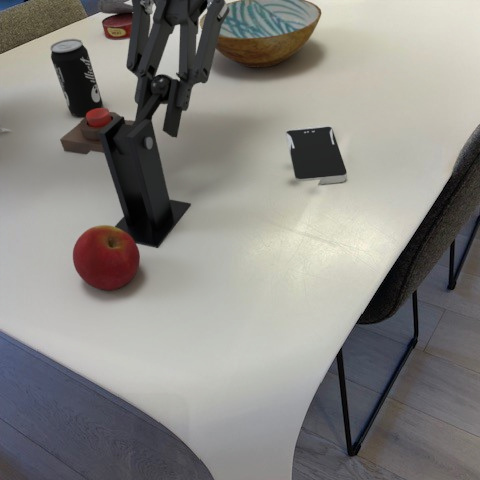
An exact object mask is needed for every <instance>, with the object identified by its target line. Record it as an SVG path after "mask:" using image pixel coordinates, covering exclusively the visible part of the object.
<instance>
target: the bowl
mask: <svg viewBox="0 0 480 480" xmlns="http://www.w3.org/2000/svg"><path fill="white" fill-rule="evenodd" d="M226 3H227V5H228V7H229V9H230V11H229V13H228V15H227V17H226V18H225V20H224V22H223V24H222V26H221V30H220V34H219V38H218V42H217V46H216V50H217V51H218V52H219V53H220V54H221V55H223V57H226V58H228V59H229V60H231V61H233V62H235V63H237V64H240V65H241V66H245V67H248V68H266V67H271V66H276V65H279V64H280V63H282V62H284V61H285V60H288V59H289V58H290V57H291V56H293V55H294V54H296V53H297V52H299V51H300V50H301V49H302V47H303V46H304V45H305V44H306V43H307V42H308V41H309V39H310V38H311V37H312V35H313V33H314V31H315V29H316V28H317V26H318V24H319V21H320V20H321V17H322V13H323V12H322V10H321V8H320V7H319V6H318V5H317V4H315V3H313V2H311V1H308V0H235V1H231V2H226ZM205 16H206V13H205V14H204V15H202V17H201V18H199V26H200V28H201V30H202V28H203V24H204V20H205Z"/></svg>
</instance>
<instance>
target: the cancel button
mask: <svg viewBox="0 0 480 480" xmlns="http://www.w3.org/2000/svg"><path fill="white" fill-rule="evenodd" d="M110 112H111V111H110V110H109V109H108V108H106V107H101V108H96V109H93V110H91V111H89V112H88V113H87V114H86V118H87V121H88V124H89V126H90V127H95V128H96V127H103V126H105V125H107V124H108V123H110V122H111V121H112V119H111V115H110Z"/></svg>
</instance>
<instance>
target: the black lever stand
mask: <svg viewBox="0 0 480 480" xmlns="http://www.w3.org/2000/svg"><path fill="white" fill-rule="evenodd" d="M125 120H126V119H125V116H122V115H120V116H116V117H115V118H114V119H113V120H112V121H111V122H110V123H108V124H107V125H106V126H105V127H104V128H103V129H102V130H100V131H99V132H98V135H99V138H100V141H101V144H102V148H103V151H104V153H103V154H104V157H105V161H106V163H107V167H108V170H109V173H110V175H111V180H112V182H113V183H112V184H113V186H114V188H115V192H116V195H117V198H118V202H119V205H120V207H121V212H122V214H123V216H122V218H121V219H120V220H119V221H118V222H117V223H116V224H115V226H114V227H117V228H119V229H121V230H123V231H125V232H126V233H128V234H129V235H130V236H131V237H132V238H133V240H134V242H135V243H136V245H137V244H138V245H143V246H147V247H151V248H156V249H159V247H160V246H161V245H162V243H163V242H164V241H165V239H167V237H168V235H170V233H171V232H172V230H173V229H174V228H175V226H176V225H177V224H178V223H179V221H180V220H181V219H182V218H183V216H184V215H185V214H186V212H187V211H188V210H189V209H190V207H191V206H192V203H190V202H185V201H180V200H175V199H170V196H169V191H168V185H167V181H166V178H165V173H164V169H163V164H162V159H161V156H160V150H159V148H158V141H157V138H156V133H155V129H154V124H153V119H152V120H147V119H145V120H144V121H143V122H142V123H140V124H139V125H138V126H137V127H136V128H135V129H134V130H133V131H132V132H131V133H130V134H129V135H128V136H127V141H128V145H129V148H130V152H131V156H127V155H120V154H119V152H118V150H117V147H116V145H115V143H114V141H113V137H114V136H115V135H116V133H117V132H118V130H119V129H120V128H121V126H122V125H123V124H126V123H125Z"/></svg>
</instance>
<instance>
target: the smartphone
mask: <svg viewBox="0 0 480 480" xmlns="http://www.w3.org/2000/svg"><path fill="white" fill-rule="evenodd" d="M285 136H286V142H287V146H288V151H289V156H290V161H291V165H292V170H293V175H294V179H295V181H297V182H307V181H317V180H319V181H318V184H317V185H318V186H319V185H328V184H338V183H340V184H341V183H344V182H346V180H347V173H348V171H347V168H346V164H345V162H344V159H343V156H342V154H341V150H340V147H339V145H338V141H337V138H336V136H335V132H334V129H333V127H332V126H331V125H317V126H310V127H308V126H307V127H299V128H298V127H296V128H289V129H287V130H286V131H285Z"/></svg>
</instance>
